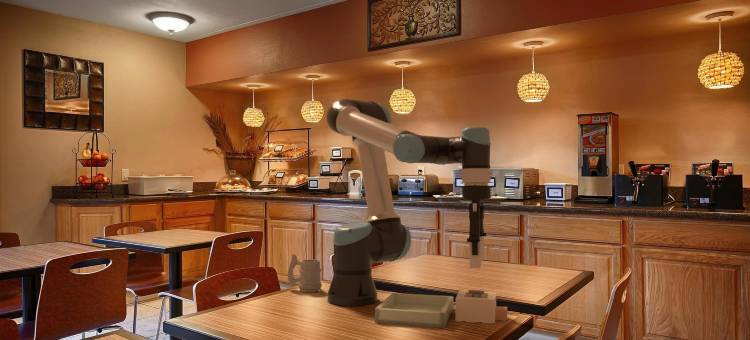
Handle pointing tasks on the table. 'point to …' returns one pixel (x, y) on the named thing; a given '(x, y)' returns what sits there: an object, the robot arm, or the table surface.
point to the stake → (476, 293)
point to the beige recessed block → (479, 308)
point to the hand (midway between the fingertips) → (477, 263)
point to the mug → (306, 274)
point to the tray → (415, 310)
